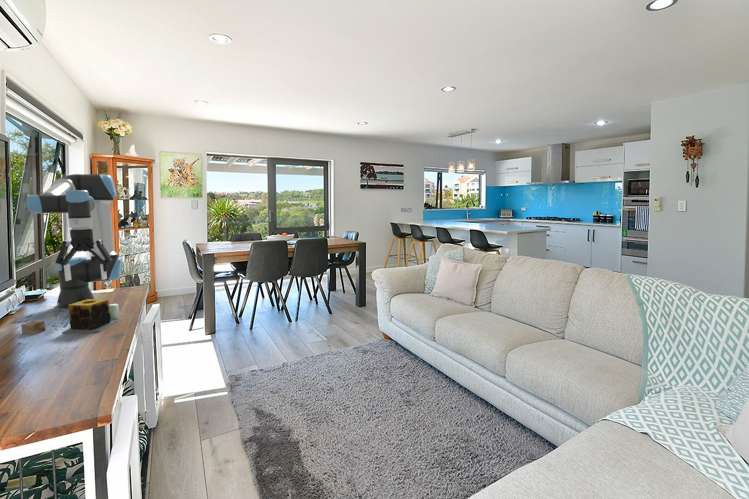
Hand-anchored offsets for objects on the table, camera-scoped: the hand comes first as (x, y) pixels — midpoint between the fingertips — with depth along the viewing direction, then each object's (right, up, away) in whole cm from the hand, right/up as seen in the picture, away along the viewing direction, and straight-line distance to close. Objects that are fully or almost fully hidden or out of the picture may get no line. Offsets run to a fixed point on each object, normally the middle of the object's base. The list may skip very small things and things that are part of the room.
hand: (86, 279), depth 167 cm
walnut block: (-17, -21, -6) cm, 27 cm away
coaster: (+2, -19, 0) cm, 20 cm away
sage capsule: (+3, -18, +12) cm, 22 cm away
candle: (+2, -19, 0) cm, 19 cm away
